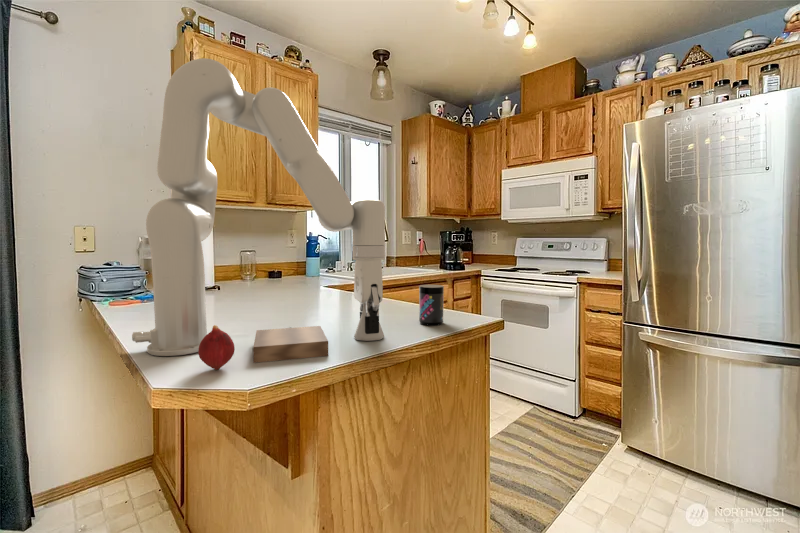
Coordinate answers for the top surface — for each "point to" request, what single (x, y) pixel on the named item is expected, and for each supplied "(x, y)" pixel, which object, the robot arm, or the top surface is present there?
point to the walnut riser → (289, 343)
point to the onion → (216, 348)
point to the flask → (360, 329)
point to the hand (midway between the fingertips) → (369, 329)
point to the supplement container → (431, 304)
